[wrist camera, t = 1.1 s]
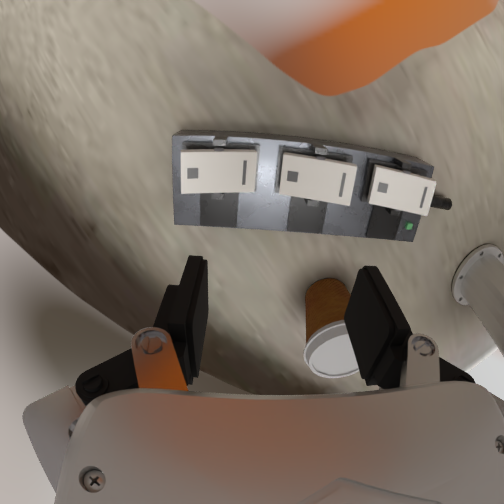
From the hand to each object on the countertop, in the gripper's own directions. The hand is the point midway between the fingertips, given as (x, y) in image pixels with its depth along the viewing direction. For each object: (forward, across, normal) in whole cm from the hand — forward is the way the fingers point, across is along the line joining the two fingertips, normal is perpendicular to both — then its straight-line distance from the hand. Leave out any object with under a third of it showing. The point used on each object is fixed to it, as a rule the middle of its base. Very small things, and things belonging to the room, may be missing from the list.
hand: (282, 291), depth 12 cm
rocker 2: (+17, -5, 0) cm, 18 cm away
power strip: (+24, -8, +2) cm, 25 cm away
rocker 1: (+17, +4, 0) cm, 18 cm away
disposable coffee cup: (+24, -11, +19) cm, 32 cm away
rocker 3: (+17, -14, 0) cm, 23 cm away
